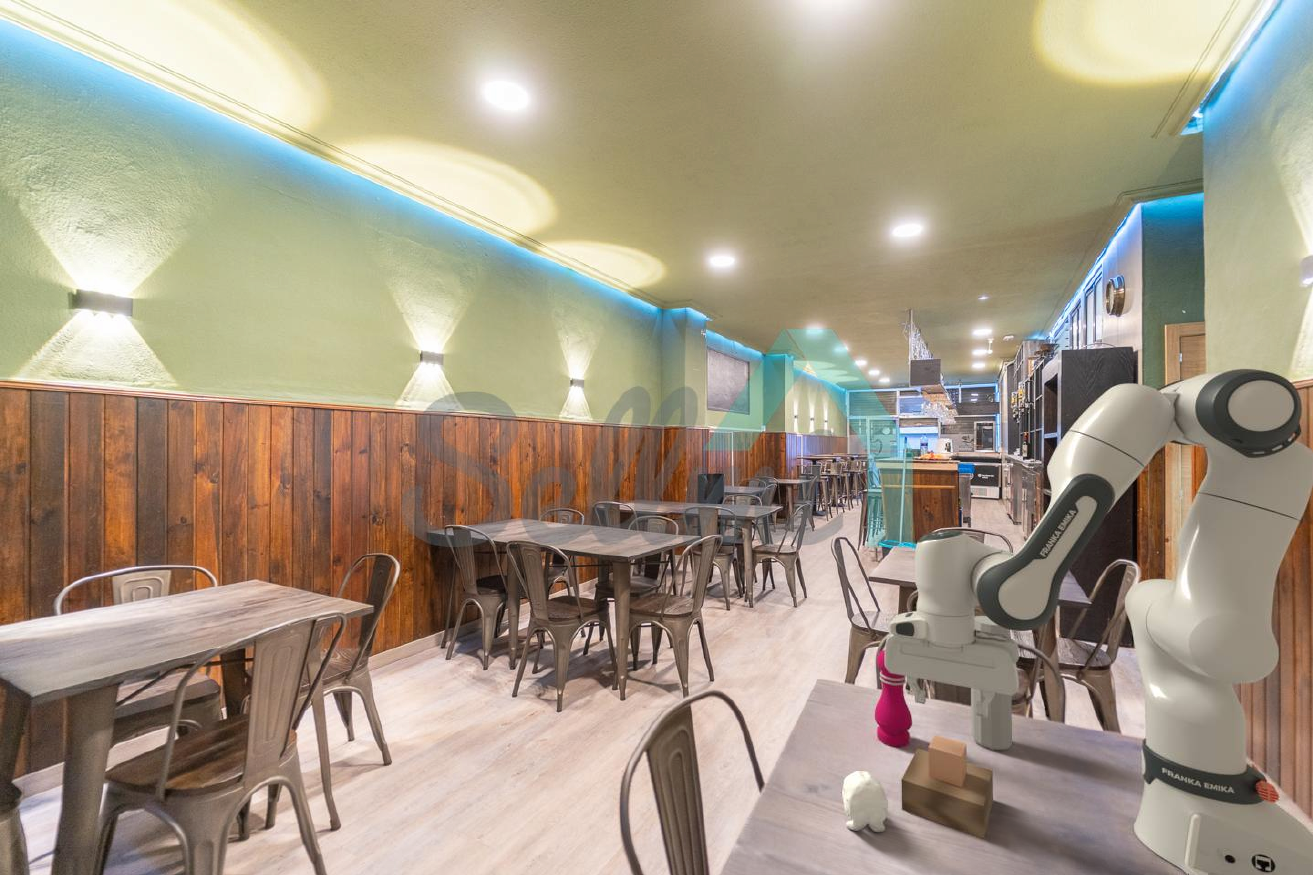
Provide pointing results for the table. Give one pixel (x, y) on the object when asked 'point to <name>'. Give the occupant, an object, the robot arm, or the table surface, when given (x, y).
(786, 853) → the table surface
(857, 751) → the table surface
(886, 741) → the pepper mill
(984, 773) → the walnut stand
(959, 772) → the terracotta cube
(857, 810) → the penguin figurine
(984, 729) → the water bottle
